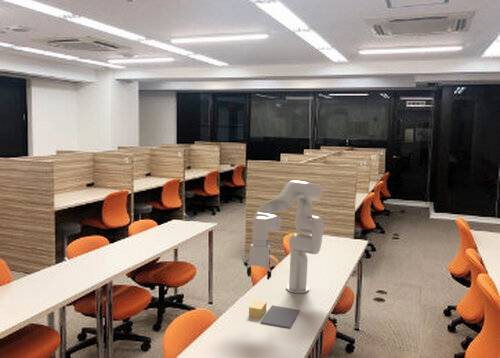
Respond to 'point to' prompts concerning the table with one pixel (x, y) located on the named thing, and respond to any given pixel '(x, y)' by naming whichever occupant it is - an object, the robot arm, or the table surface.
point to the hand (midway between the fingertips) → (258, 277)
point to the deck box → (257, 309)
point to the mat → (280, 316)
